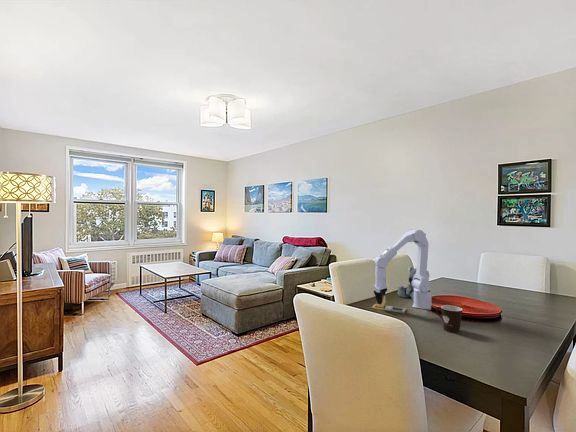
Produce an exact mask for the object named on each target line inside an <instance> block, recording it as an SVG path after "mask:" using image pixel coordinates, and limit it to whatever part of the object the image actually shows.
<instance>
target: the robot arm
mask: <svg viewBox="0 0 576 432" xmlns="http://www.w3.org/2000/svg"><path fill="white" fill-rule="evenodd" d="M408 243H414V244H415V245H416V246H417V253H416V254H417V255H416V267H415V268H416V274H415V275H414V278H413V280H412V286H413V287H414V301H413V303H412V308H415V309H422V310H427V311H428V310H430V311H431V310H432V307H431V306H433V302H432V299H433V298H432V297H433V296H432V292H431V291H430V292H428V291H429V290H430V288H431V284H430V279H429V278H428V277H427V275H426V273H427V271H428V269H427V268H428V258H429V257H428V255H429V244H430V243H429V241H428V238H427V233H425V232H424V231H423V230H421V229H412V228H411V229H408V230H407V231H406V232H405V233H403V235H402V236H401V237H400V238H399V240H397V242H395V244H394V245H393V246H389V247H386V248H385V250H384V251H383V252H382V253H380V254H379V256H376V257H375V258H374V260H373V264H374V265H375V271H374V272H375V273H374V274H375V275H374V276H375V283H374V284H373V286H372V287H374V288H375V290H373V294H374V297H375V299H376V300H377V304H381V303H382V298H383V295H385V296H386V293H387V291H388V288H387V267H388V265H389V262H390V261H391V260H392V259H394V258H395V257H396V256H397V254H398V253H397V252H398V251H399V250H400V249H402V248H403V247H404V246H405V245H406V244H408Z"/></svg>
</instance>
